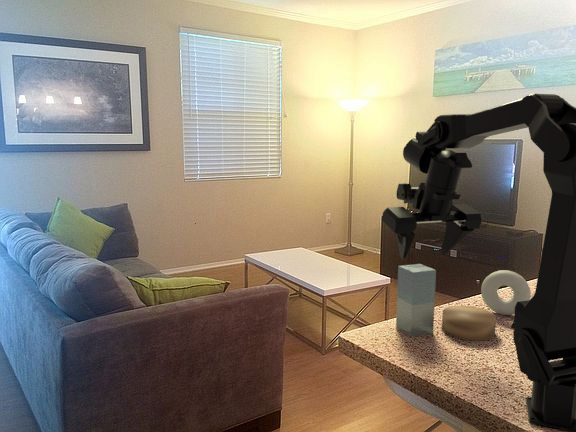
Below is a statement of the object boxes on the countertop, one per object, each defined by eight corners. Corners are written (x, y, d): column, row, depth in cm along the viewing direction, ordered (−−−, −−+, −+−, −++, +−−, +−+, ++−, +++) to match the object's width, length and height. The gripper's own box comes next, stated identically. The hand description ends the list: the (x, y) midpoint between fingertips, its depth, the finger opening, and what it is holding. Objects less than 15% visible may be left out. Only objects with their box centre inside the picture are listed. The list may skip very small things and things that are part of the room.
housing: (433, 333, 94) (436, 270, 92) (410, 337, 92) (413, 272, 90) (417, 324, 99) (420, 263, 97) (396, 327, 97) (398, 265, 95)
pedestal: (495, 344, 89) (496, 326, 88) (439, 336, 93) (440, 318, 92) (494, 325, 98) (495, 309, 97) (443, 318, 102) (444, 303, 101)
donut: (529, 316, 103) (533, 271, 102) (528, 321, 100) (532, 275, 99) (480, 308, 108) (483, 265, 107) (478, 312, 105) (481, 269, 104)
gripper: (458, 166, 96) (440, 234, 103) (376, 168, 90) (362, 239, 97) (494, 188, 87) (471, 261, 93) (405, 191, 81) (388, 268, 88)
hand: (422, 256), depth 93 cm, fingers open, 9 cm apart
